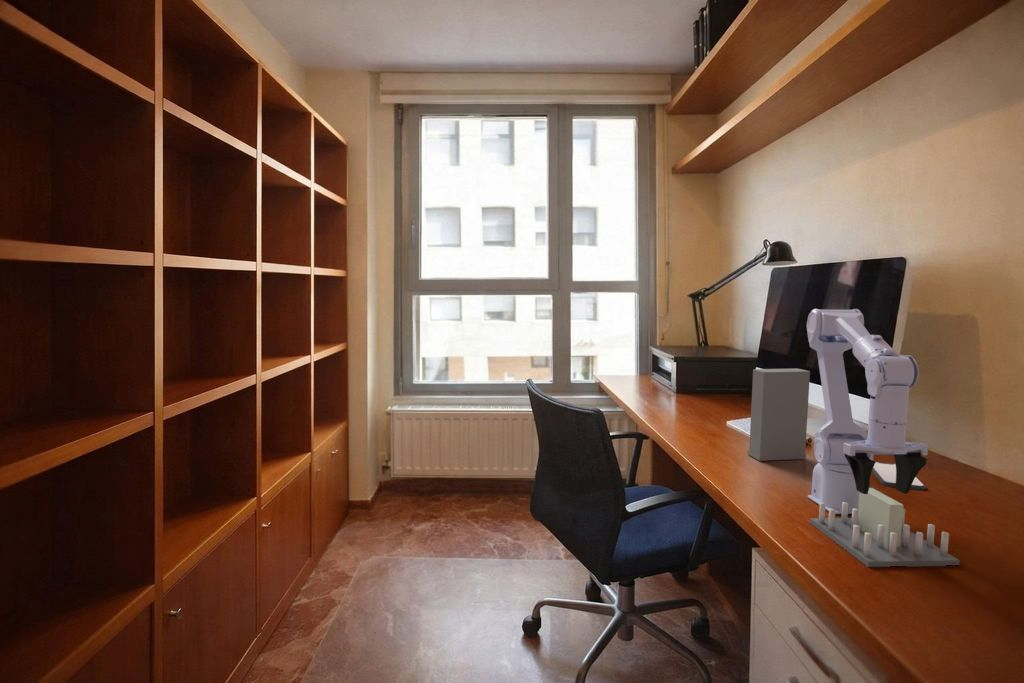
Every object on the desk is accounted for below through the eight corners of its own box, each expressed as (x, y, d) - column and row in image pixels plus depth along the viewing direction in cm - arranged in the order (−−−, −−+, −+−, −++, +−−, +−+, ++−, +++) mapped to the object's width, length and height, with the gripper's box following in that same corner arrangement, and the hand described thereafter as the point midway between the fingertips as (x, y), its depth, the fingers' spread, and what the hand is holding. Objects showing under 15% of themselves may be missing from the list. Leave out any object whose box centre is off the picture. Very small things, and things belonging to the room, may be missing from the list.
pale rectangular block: (857, 527, 103) (859, 488, 102) (869, 527, 103) (872, 487, 102) (887, 547, 95) (890, 504, 94) (900, 547, 95) (903, 504, 94)
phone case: (927, 493, 124) (904, 470, 139) (928, 487, 124) (905, 464, 139) (883, 488, 128) (865, 466, 142) (883, 482, 127) (865, 460, 142)
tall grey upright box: (791, 452, 153) (796, 367, 150) (805, 459, 147) (810, 371, 144) (746, 454, 151) (750, 368, 149) (759, 461, 145) (763, 372, 143)
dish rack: (809, 522, 107) (811, 499, 107) (886, 522, 108) (888, 498, 107) (868, 567, 90) (870, 539, 90) (958, 565, 91) (961, 538, 90)
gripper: (863, 426, 93) (858, 500, 94) (944, 426, 93) (937, 500, 94) (837, 416, 100) (833, 486, 101) (913, 416, 100) (907, 485, 101)
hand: (882, 491), depth 98 cm, fingers open, 7 cm apart
